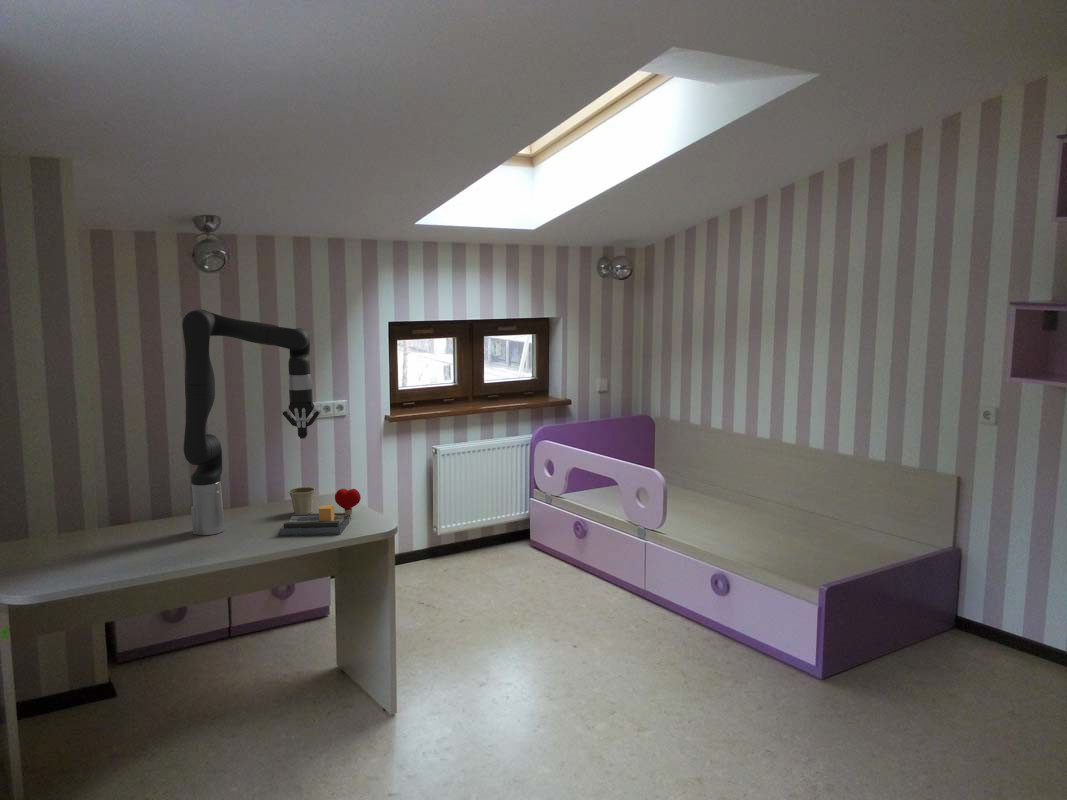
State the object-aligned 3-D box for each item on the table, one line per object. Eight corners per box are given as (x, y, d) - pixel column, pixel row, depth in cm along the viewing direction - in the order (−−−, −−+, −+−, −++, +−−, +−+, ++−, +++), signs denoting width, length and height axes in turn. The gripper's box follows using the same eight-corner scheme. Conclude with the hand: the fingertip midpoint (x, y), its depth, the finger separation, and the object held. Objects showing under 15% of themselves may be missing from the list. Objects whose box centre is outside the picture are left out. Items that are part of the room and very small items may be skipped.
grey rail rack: (283, 527, 271) (283, 523, 271) (293, 517, 283) (293, 514, 283) (337, 526, 272) (337, 522, 271) (345, 516, 283) (345, 512, 283)
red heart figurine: (364, 513, 296) (362, 486, 294) (358, 519, 289) (356, 491, 287) (339, 513, 297) (337, 486, 295) (332, 518, 290) (331, 491, 288)
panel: (280, 535, 271) (279, 525, 270) (292, 523, 285) (291, 513, 284) (340, 534, 271) (339, 523, 270) (349, 522, 285) (348, 512, 284)
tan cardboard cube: (319, 523, 275) (318, 508, 274) (322, 519, 280) (322, 505, 279) (331, 522, 275) (330, 508, 274) (334, 519, 280) (333, 504, 279)
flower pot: (291, 510, 302) (289, 487, 301) (317, 508, 304) (316, 486, 303) (288, 517, 293) (286, 494, 292) (315, 515, 295) (313, 492, 294)
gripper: (277, 389, 271) (280, 440, 274) (316, 388, 271) (319, 440, 274) (284, 386, 279) (287, 436, 281) (322, 386, 279) (325, 435, 281)
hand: (303, 438), depth 277 cm, fingers closed
